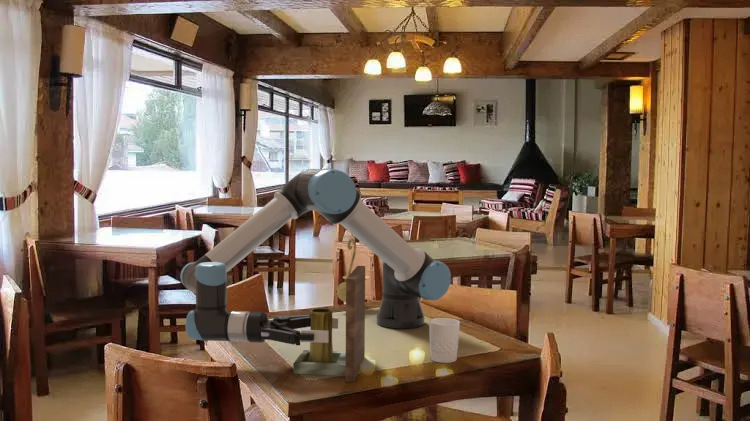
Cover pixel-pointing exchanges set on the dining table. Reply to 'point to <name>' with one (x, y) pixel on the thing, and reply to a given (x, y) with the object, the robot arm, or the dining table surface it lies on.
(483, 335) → the dining table surface
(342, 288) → the wall sconce
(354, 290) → the board
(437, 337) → the white cup
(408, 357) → the dining table surface
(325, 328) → the vase
